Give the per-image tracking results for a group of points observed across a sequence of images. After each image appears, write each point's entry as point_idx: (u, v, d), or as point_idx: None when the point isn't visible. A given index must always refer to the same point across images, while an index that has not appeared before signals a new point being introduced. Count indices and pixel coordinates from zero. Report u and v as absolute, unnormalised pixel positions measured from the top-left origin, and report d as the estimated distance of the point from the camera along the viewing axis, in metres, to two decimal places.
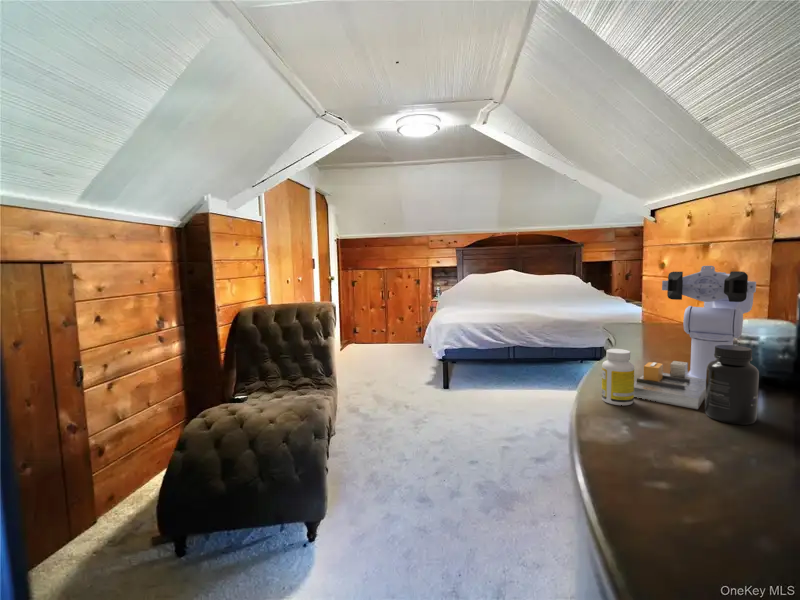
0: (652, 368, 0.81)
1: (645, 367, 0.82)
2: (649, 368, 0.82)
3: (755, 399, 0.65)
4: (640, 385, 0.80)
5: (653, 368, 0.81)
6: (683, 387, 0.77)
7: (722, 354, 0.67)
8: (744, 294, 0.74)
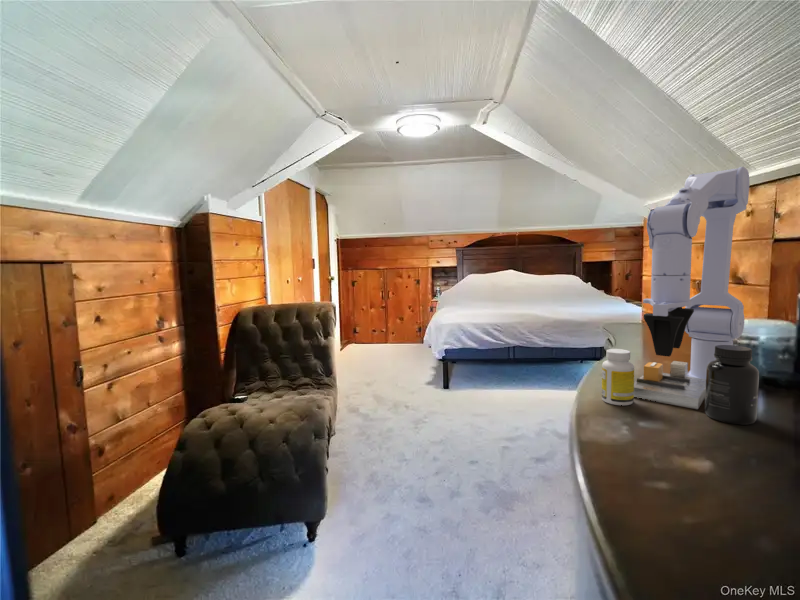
0: (652, 368, 0.81)
1: (645, 367, 0.82)
2: (649, 368, 0.82)
3: (755, 399, 0.65)
4: (640, 385, 0.80)
5: (653, 368, 0.81)
6: (683, 387, 0.77)
7: (722, 354, 0.67)
8: (671, 322, 0.67)
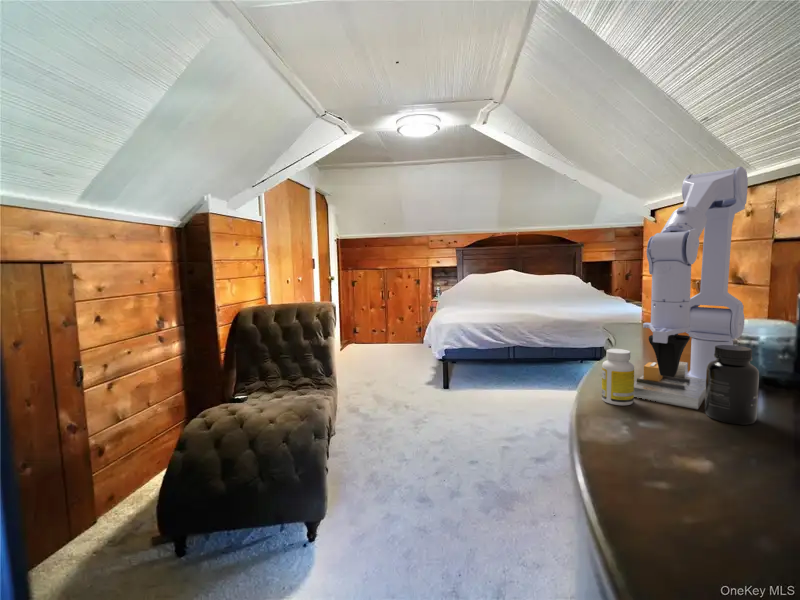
0: (652, 368, 0.81)
1: (645, 367, 0.82)
2: (649, 368, 0.82)
3: (755, 399, 0.65)
4: (640, 385, 0.80)
5: (653, 368, 0.81)
6: (683, 387, 0.77)
7: (722, 354, 0.67)
8: (675, 345, 0.70)
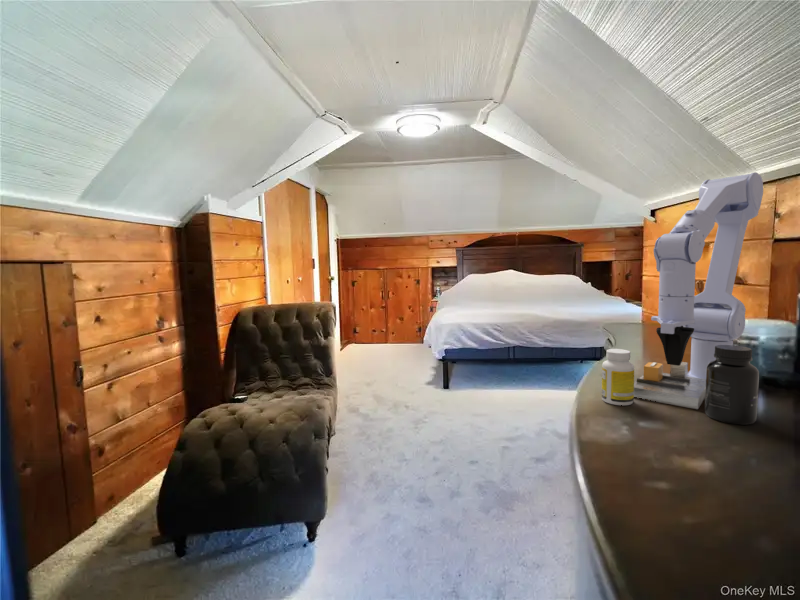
0: (652, 368, 0.81)
1: (645, 367, 0.82)
2: (649, 368, 0.82)
3: (755, 399, 0.65)
4: (640, 385, 0.80)
5: (653, 368, 0.81)
6: (683, 387, 0.77)
7: (722, 354, 0.67)
8: (681, 336, 0.77)
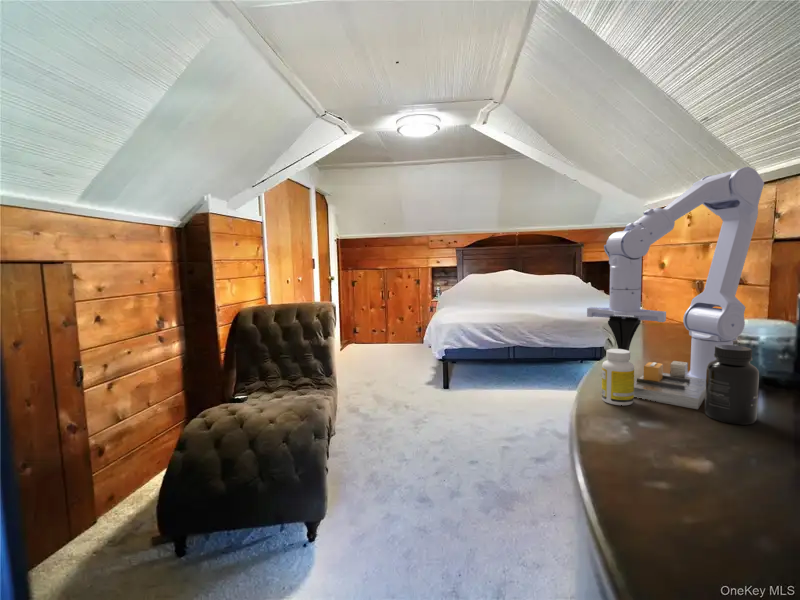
0: (652, 368, 0.81)
1: (645, 367, 0.82)
2: (649, 368, 0.82)
3: (755, 399, 0.65)
4: (640, 385, 0.80)
5: (653, 368, 0.81)
6: (683, 387, 0.77)
7: (722, 354, 0.67)
8: (638, 324, 0.85)
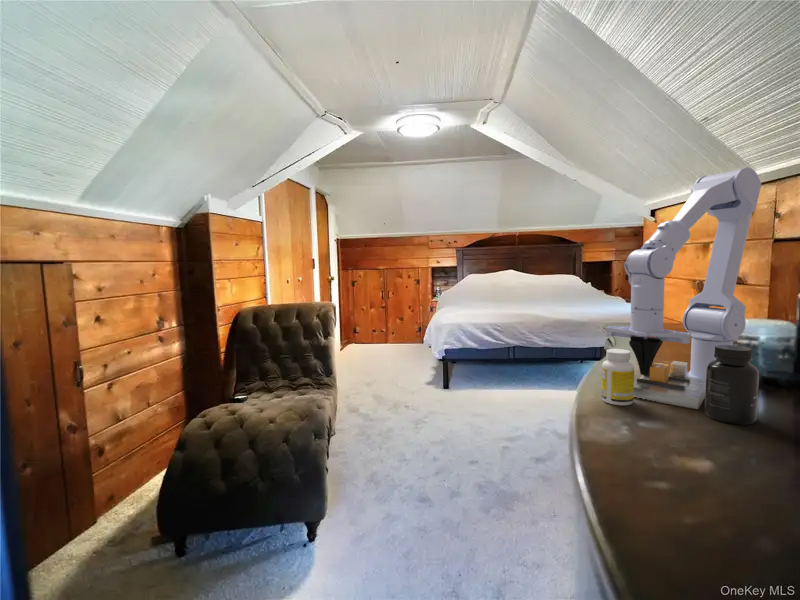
0: (658, 369, 0.81)
1: (651, 368, 0.81)
2: (655, 369, 0.81)
3: (755, 399, 0.65)
4: (640, 385, 0.80)
5: (659, 369, 0.80)
6: (683, 387, 0.77)
7: (722, 354, 0.67)
8: (661, 344, 0.83)
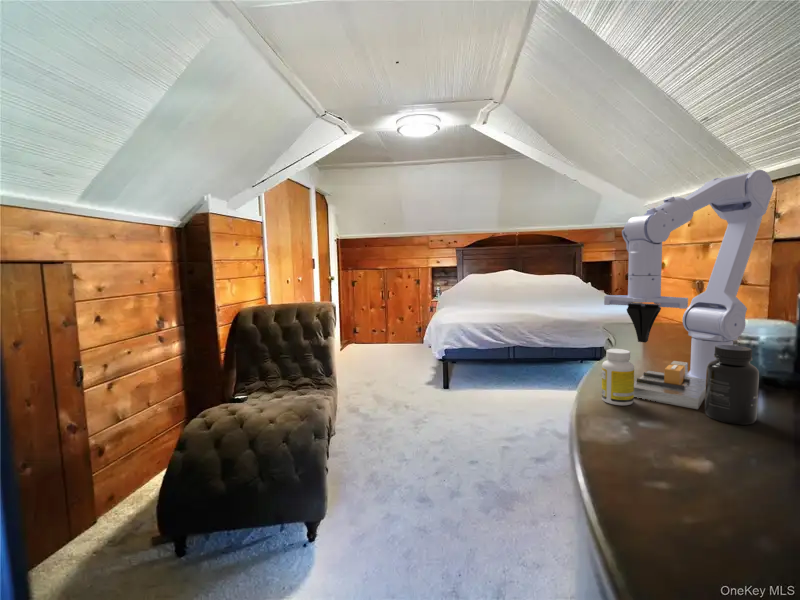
0: (673, 371, 0.79)
1: (666, 370, 0.80)
2: (670, 371, 0.79)
3: (755, 399, 0.65)
4: (640, 385, 0.80)
5: (674, 371, 0.79)
6: (683, 387, 0.77)
7: (722, 354, 0.67)
8: (658, 311, 0.82)
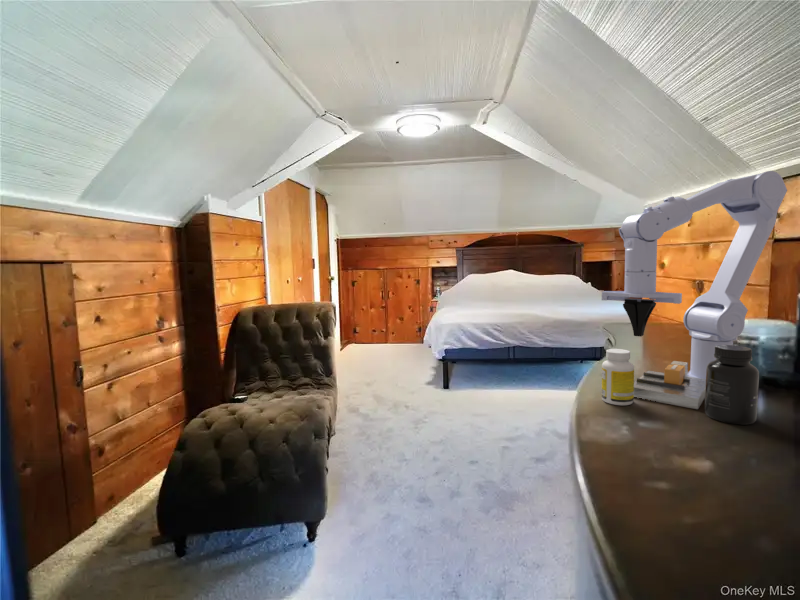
0: (673, 371, 0.79)
1: (666, 370, 0.80)
2: (670, 371, 0.79)
3: (755, 399, 0.65)
4: (640, 385, 0.80)
5: (674, 371, 0.79)
6: (683, 387, 0.77)
7: (722, 354, 0.67)
8: (654, 306, 0.86)
